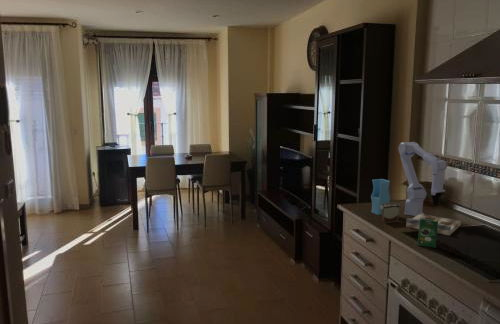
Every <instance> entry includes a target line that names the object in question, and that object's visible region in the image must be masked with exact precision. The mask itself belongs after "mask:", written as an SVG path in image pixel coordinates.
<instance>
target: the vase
mask: <svg viewBox="0 0 500 324" xmlns="http://www.w3.org/2000/svg"><path fill="white" fill-rule="evenodd" d="M371 181H372V186H373V187H372V188H373V189H372V193H371V194H370V199H371V213H373V214H374V215H377V216H382V211H381V209H380V207H381V204H382V203H390V201H391V196H390V193H389V187H390V182H391V181H390V180H387V179H384V178H378V179H372V180H371Z"/></svg>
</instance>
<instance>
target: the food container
mask: <svg viewBox="0 0 500 324" xmlns="http://www.w3.org/2000/svg"><path fill="white" fill-rule="evenodd" d="M380 209H381V211H382V215H381V222H382V224H389V223H397V222H399V216H400V210H401V203H396V202H389V203H382V204H381V207H380Z"/></svg>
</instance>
